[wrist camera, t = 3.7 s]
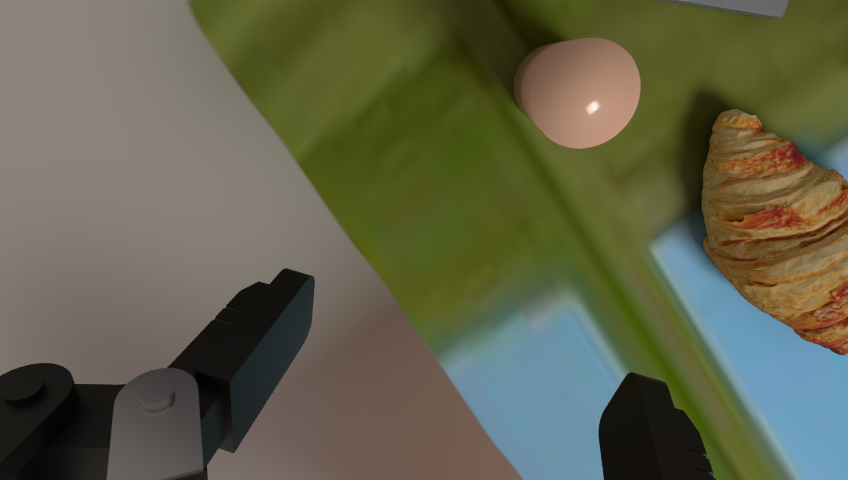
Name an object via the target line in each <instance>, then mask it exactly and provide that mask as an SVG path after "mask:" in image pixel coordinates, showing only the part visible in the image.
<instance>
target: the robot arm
mask: <svg viewBox="0 0 848 480" xmlns="http://www.w3.org/2000/svg"><path fill="white" fill-rule="evenodd" d="M314 285H315V280H314V277H313V276H310V275H307V274H304V273H300V272H297V271H294V270H290V269H287V268H285V269H283V270H282V271H281V272H280V273H279V274H278V275H277V276H276V278H275V279H274V280H273V281H272V282H271V283H270V284H265V283H262V282H257V283H255V284H253V285H251V286H249V287H247V288H245V289H243V290H241V291H240V292H239V293H238V294H237V295H236V296H235V297H234V298H233V299H232V300H231V301H230V302H229V303H228V304H227V306H226V308H224V309H222V311H221V312H220V313H219V314H218V315H217V316H216V318H215V320H212V321H211V322H210V323H209V324H208V325H207V326H206V327H205V329H204V330H203V331H202V332H201V333H200V334H199V335H198V336H197V337H196V338H195V339H194V340H193V341H192V342H191V343H190V345H188V347H187V348H186V349H185V350H184V351H183V352H182V353H181V354H180V355H179V356H178V357H177V358H176V359H175V361H173V362H172V363H171V364H170V365H169V366H168V367H167V368H161V369H155V370H151V371H148V372H145V373H143V374H141V375H139V376H137V377H135V378H134V379H132V380H131V381H129V382H128V383H127V384H123V385H104V384H102V385H101V384H100V385H99V384H75V383H74V380H73V377H72V375H71V373H70V372H69V371H68V370H67V369H66V368H64V367H62V366H60V365H57V364H51V363H39V364H31V365H27V366H23V367H19V368H17V369H14V370H11V371H9V372H7V373H5V374H3V375H1V376H0V480H208V474H207V464H208V463H209V461H210V460H211V459H212V457H213V456H214V454H215V453H216V451H217V450H218V448H220V449H223V450H226V451H229V452H231V453H234V452H235V451H236V449H237V447H238V446H239V444H240V443H241V441H242V440H243V438H244V437H245V435H246V433H247V432H248V430H249V429H250V427H251V426H252V424H253V422H254V421H255V419H256V418H257V416H258V414H259V413H260V411H261V410H262V408H263V407H264V405H265V404H266V402H267V400H268V399H269V397H270V396H271V394H272V393H273V391H274V389H275V388H276V386H277V385H278V383H279V382H280V380H281V378H282V377H283V375H284V374H285V372H286V371H287V369H288V367H289V366H290V364H291V363H292V361H293V359H294V358H295V356H296V355H297V353H298V352H299V350H300V349H301V347H302V345H303V344H304V342H305V340H306V338H307V336H308V333H309V330H310V326H311V321H312V310H313V298H314ZM599 443H600V451H601V459H602V467H603V475H604V480H716V479H715V478H713V471H712V468H711V465H710V462H709V459H707V458H706V456H707V453H706V450H705V448H704V445H703V442H702V439H701V436H700V433H699V431H698V430H697V429H696V427H695V426H694V425H693V423H692V422H691V420H690V419H689V418H688V416H687V415H686V413H685V412H684V411H683V410H679V409H676V408H674V405H673V402H672V399H671V395H670V392H669V389H668V386H667V385H666V383H665V382H663V381H660V380H656V379H653V378H650V377H646V376H643V375H640V374H636V373H633V372H631V373H629V374H627V375H626V377H625V378H624V380H623V381H622V383H621V384H620V386H619V388H618V389H617V391H616V392H615V394H614V395H613V397H612V399H611V400H610V402H609V403H608V405H607V407H606V408H605V410H604V411H603V414H602V416H601V419H600V424H599Z"/></svg>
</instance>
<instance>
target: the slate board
mask: <svg viewBox="0 0 848 480" xmlns="http://www.w3.org/2000/svg"><path fill="white" fill-rule="evenodd" d="M658 1H664V2H670V3H676V4H682V5H688V6H694V7H700V8H706V9H712V10H718V11H724V12H730V13H736V14H742V15H748V16H754V17H760V18H766V19H775V18H782V17H783V15H784V12H785V10H786V7H787V5H788V3H789V0H658Z"/></svg>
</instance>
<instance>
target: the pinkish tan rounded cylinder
mask: <svg viewBox="0 0 848 480" xmlns="http://www.w3.org/2000/svg"><path fill="white" fill-rule="evenodd" d="M513 93H514V98H515V101H516V103H517V105H518V107H519V108H520V109H521V111H522V112H523V113H524V114H525V115H526V116H527V117H528V118H529V119H530V120H531V121H532V122H533V123H534V124H535V125H536V126H537V127H538V128H539V129H540V130H541V131H542V132H543V133H544V134H545V135H546V136H547V137H548V138H549V139H551V140H552V141H554V142H556V143H557V144H560V145H562V146H565V147H569V148H589V147H593V146H597V145H600V144H602V143H604V142H606V141H608V140H610V139H611V138H613V137H614V136H616V135H617V134H618V133H619V132H620V131H621V130H622V129H623V128H624V127H625V126H626V125H627V124H628V122H629V121H630V119H631V118H632V116H633V114H634V112H635V110H636V107H637V105H638V101H639V97H640V75H639V72H638V68H637V66H636V64H635V62H634V60H633V59H632V57H631V56H630V55H629V53H628V52H627V51H626V50H625V49H623V48H622V47H621V46H620V45H618V44H616V43H614V42H612V41H610V40H606V39H602V38H594V37H593V38H582V39H576V40H570V41H563V42H557V43H551V44H546V45H542V46H540V47H538V48H536V49H534V50H532V51H531V52H530V53H529V54H527V55H526V56H525V57H524V59H523V60H522V61H521V62H520V64H519V66H518V68H517V70H516V72H515V76H514V80H513Z"/></svg>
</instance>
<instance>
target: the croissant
mask: <svg viewBox="0 0 848 480" xmlns="http://www.w3.org/2000/svg"><path fill="white" fill-rule="evenodd" d="M712 131H713V133H712V135H711V138H710V140H709V143H710V148H709V152H708V156H707V160H706V162H705V165H704V168H703V190H702V192H701V194H702V212H703V216H704V222H705V226H706V231H707V235H708V236H706V237H705V238H704V241H703V247H704V250H705V252H706V253H707V255H708V256H709V257H710V258H711V260H712V261H713V262H714V263H715V265H716V267H717V268H718V269H719V270H720V271H721V272H722V273H723V275H724V276H725V277H726V278H727V279H728V280H729V281H730V283H731V284H732V285H733V286H734V287H735V288H736V289H737V291H738V292H739V293H740V294H741V295H742V296H743V297H744V299H746V300H747V301H748V302H749V303H751V304H752V305H753V306H755V307H757V308H758V309H760V310H761V311H762V312H764V313H766V314H769V315H771V316H772V317H773V318H775V319H777V320H778V321H780V322H782V323H784V324H786V325H787V326H789V327H791V328H793V330H794V332H795V333H796V334H798V335H799V336H800V337H801V338H802V339H804V340H806V341H808V342H812V343H815V344H818V345H821V346H822V347H824V348H828V349H830V350H831V351H833V352H835V353H837V354H839V355H845V354H847V353H848V182H847V181H846V180H845V179H844V177H843V176H842V175H841V174H839V173H838V172H837V171H836V170H834V169H831V170H825V169H823V168H822V167H821V166H819V165H816V164H814V163H813V162H811V161H809V160H807V159H806V158H805V157H804V155H803V154H802V153H801V152H800V151H799V150H798V148H797V147H796V146H795V144H794V143H793V142H792V141H790V140H788V139H787V138H780V137H778V136H777V135H776V134H775V133H774V132H764V131H763V126H762V124H761V122H760V120H759V119H758V118H757V115H749V114H747V113H745V112H743V111H741V110H739V109H731V110H729V111H726V112H722V113H720V115H719V116H718V118H717V119H716V121H715V123H714V125H713V127H712Z"/></svg>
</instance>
